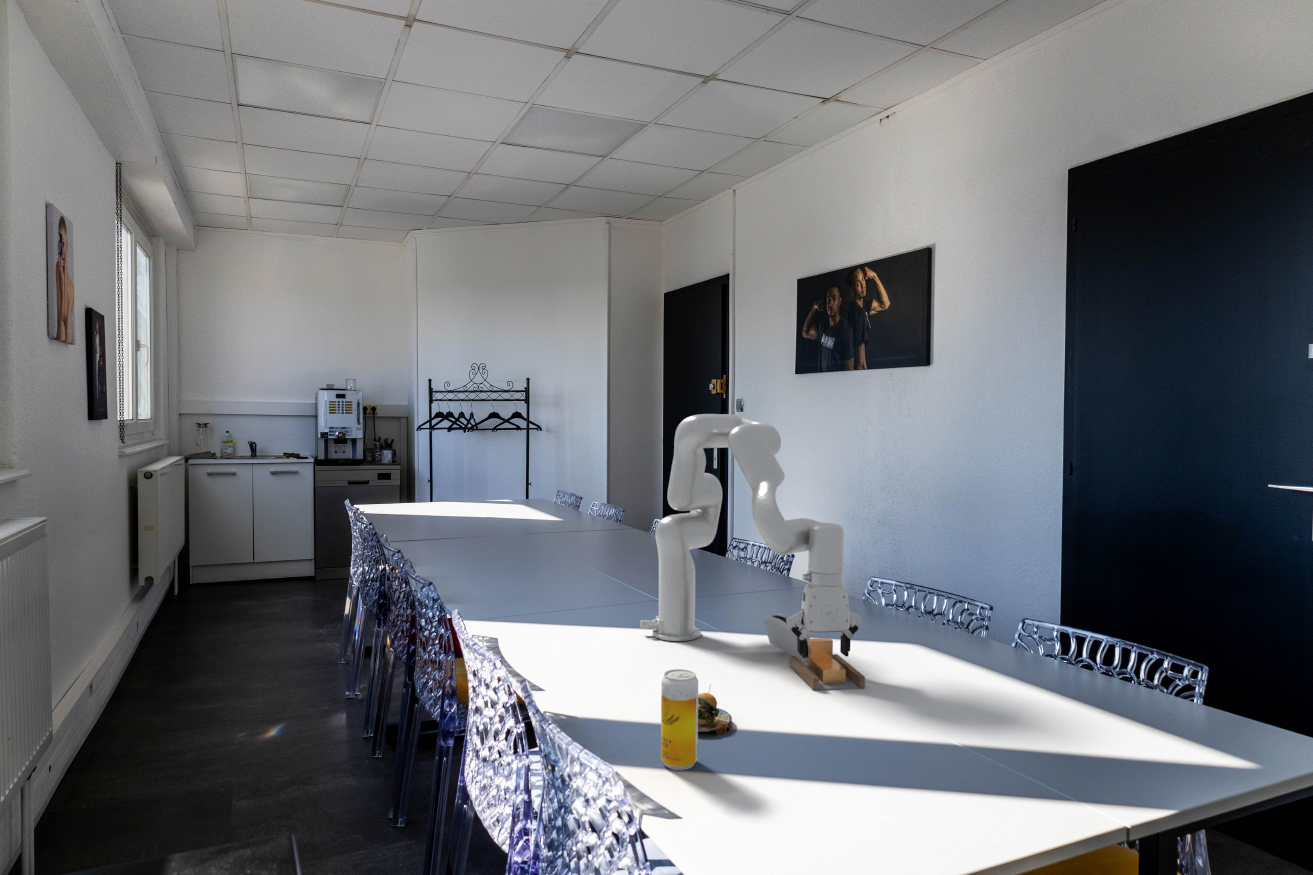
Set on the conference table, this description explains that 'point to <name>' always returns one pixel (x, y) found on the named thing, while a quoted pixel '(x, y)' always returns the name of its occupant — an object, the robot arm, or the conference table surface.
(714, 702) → the burger
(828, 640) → the bracket
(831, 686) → the bay mat
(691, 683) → the beer can
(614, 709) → the conference table surface
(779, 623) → the grey slotted curved block
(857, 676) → the bay walls
